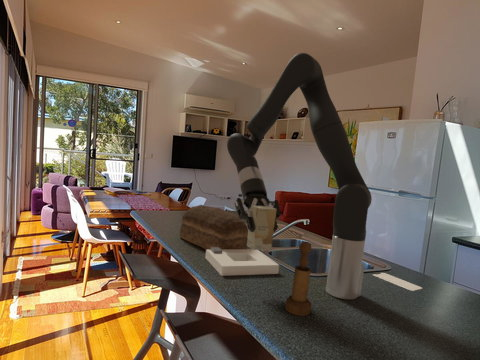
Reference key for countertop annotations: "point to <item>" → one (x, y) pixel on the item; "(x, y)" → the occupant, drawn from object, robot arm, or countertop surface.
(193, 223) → the bread
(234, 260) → the socket plate
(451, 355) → the countertop surface
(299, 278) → the brown wooden tall piece
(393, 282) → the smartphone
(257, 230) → the skincare box
